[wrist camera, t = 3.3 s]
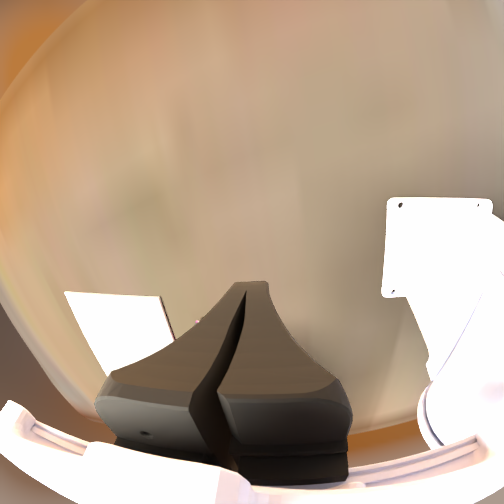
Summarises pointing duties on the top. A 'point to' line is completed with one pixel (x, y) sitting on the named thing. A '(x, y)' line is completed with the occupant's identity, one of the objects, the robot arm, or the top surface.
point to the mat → (121, 326)
